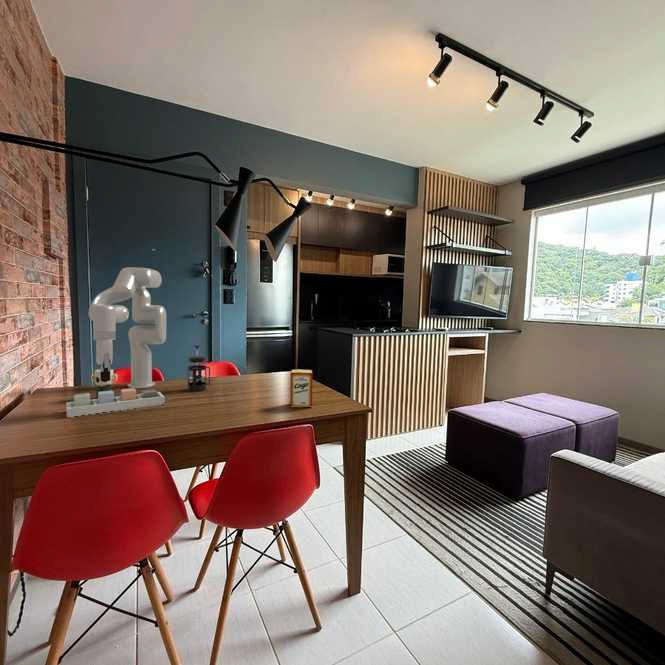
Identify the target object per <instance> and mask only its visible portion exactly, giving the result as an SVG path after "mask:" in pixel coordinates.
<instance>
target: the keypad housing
mask: <svg viewBox="0 0 665 665" xmlns="http://www.w3.org/2000/svg"><path fill="white" fill-rule="evenodd" d="M165 398H166V397H165V395H164V394H162V392H161V391H157V397H152V398H144V399H142V393H136V400H128V401H122V400H121V395H120V396H114V402H112V403H104V404H99V402H98V399H97V398H95V399H94V398H93V399H90V405H88V406H79V407H75V406H74V401H70V402H69V401H68V402H66V403H65V404H66V406H65V407H66V408H65V410H66V411H65V412H66V418H67V417H71V418H75V417H74V416H78V417H82V416H81V415H85V416H89V415H88V414H92V415H96V414H95V413H100V414H103V413H102V412H107V413H111V412H110V411H114V412H118V411H119V410H121V411H127V409H129V410H135V409H134V408H136V409H142V407H143V408H149V406H150V407H156V405H157V406H163V405H162V404H165V405H166V403H165V402H166V401H165ZM119 412H120V411H119Z"/></svg>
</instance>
